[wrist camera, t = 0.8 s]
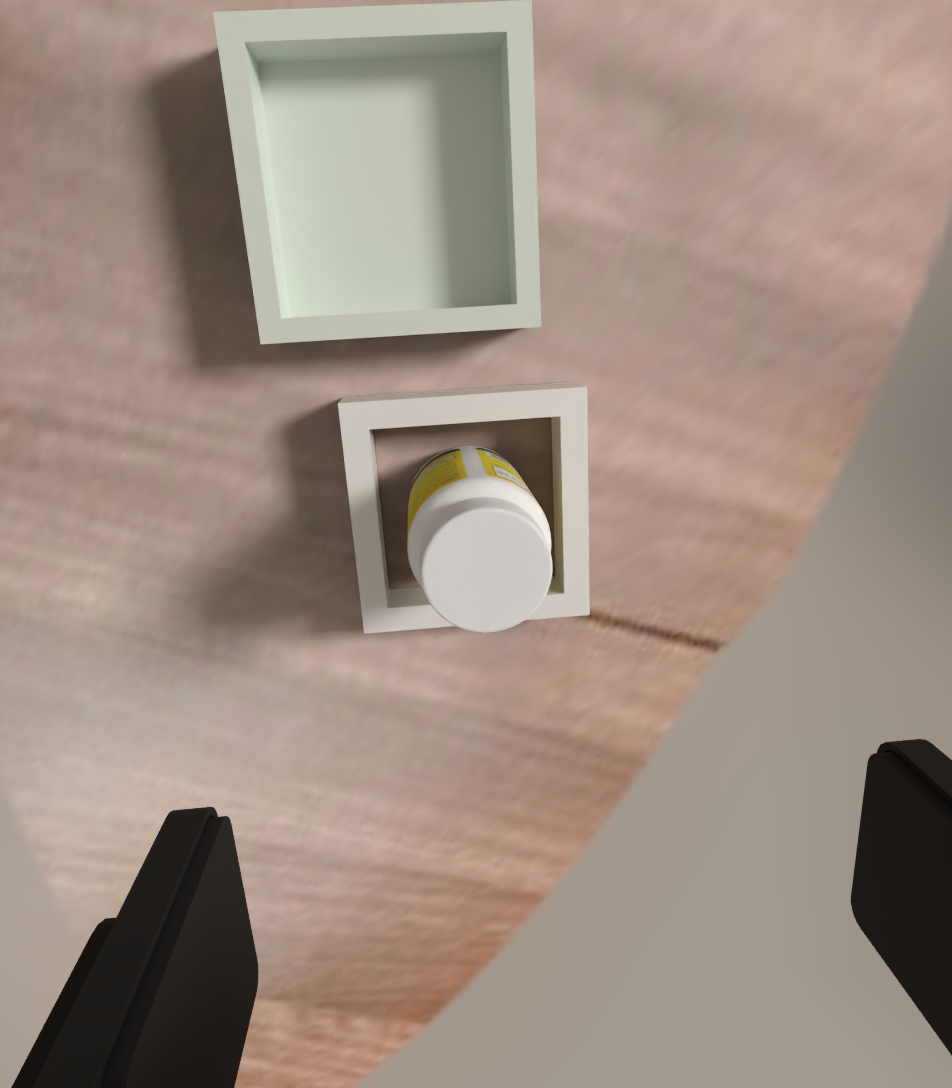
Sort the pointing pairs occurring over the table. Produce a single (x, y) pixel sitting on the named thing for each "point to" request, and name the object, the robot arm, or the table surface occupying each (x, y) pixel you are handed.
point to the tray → (385, 167)
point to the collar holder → (466, 406)
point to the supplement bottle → (478, 540)
